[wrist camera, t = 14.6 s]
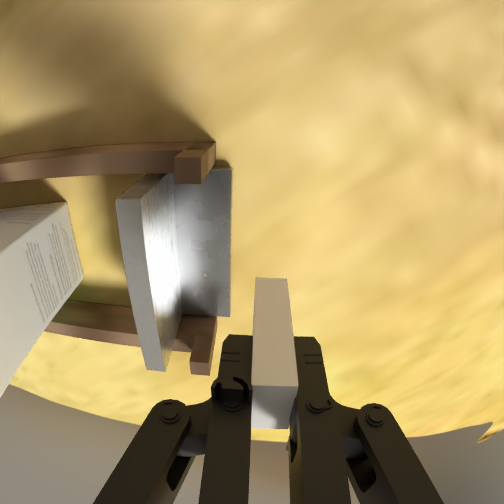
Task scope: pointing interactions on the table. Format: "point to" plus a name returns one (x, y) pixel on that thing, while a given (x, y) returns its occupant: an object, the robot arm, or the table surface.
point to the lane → (124, 162)
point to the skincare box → (33, 277)
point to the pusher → (175, 255)
